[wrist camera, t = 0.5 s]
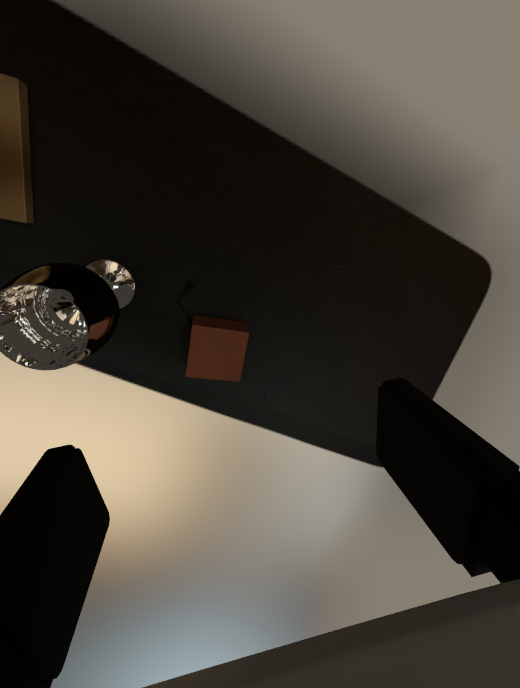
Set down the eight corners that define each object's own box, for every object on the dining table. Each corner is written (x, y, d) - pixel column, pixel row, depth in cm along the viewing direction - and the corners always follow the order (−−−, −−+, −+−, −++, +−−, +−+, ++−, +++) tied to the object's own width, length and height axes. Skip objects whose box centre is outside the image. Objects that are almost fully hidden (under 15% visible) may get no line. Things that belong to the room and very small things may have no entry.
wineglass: (145, 317, 28) (106, 378, 17) (77, 316, 27) (-12, 381, 16) (140, 252, 26) (92, 273, 15) (66, 249, 25) (-45, 268, 14)
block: (193, 314, 28) (192, 324, 26) (245, 321, 30) (249, 332, 27) (187, 362, 30) (185, 376, 27) (236, 367, 31) (239, 382, 28)
